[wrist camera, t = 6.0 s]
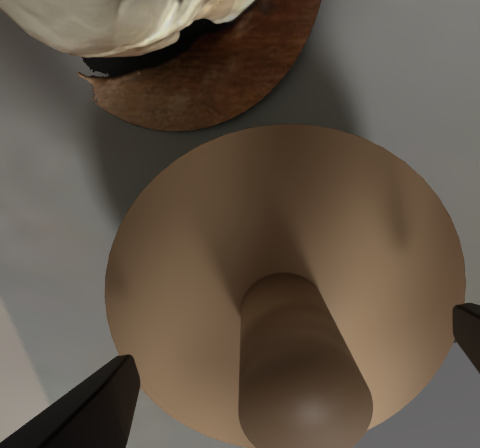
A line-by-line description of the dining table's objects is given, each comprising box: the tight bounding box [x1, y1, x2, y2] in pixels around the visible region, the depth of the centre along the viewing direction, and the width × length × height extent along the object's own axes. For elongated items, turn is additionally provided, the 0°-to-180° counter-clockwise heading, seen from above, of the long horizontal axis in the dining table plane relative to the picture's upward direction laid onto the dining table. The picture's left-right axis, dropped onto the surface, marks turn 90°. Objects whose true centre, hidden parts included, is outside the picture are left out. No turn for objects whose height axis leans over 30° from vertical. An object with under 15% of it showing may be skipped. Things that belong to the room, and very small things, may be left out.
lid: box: [105, 124, 466, 448], centre depth 9 cm, size 12×12×5 cm
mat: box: [352, 339, 480, 448], centre depth 17 cm, size 12×12×1 cm
